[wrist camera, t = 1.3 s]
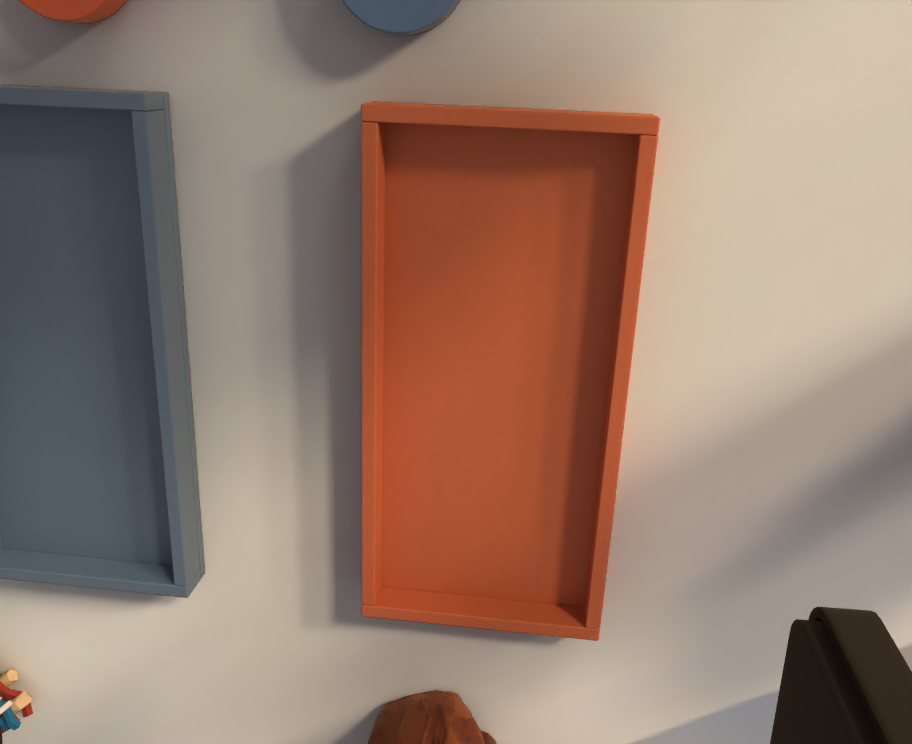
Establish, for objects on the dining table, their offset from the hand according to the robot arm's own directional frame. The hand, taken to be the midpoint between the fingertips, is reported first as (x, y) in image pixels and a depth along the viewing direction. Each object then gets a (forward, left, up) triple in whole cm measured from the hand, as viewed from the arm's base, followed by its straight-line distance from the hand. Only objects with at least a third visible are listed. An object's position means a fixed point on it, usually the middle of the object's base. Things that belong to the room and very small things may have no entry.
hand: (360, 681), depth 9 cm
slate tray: (+5, -18, -24) cm, 31 cm away
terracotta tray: (+5, 0, -24) cm, 25 cm away
